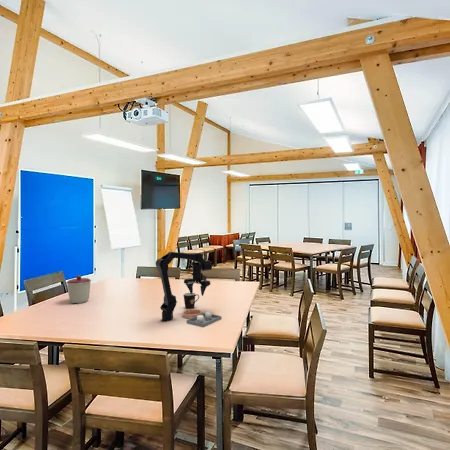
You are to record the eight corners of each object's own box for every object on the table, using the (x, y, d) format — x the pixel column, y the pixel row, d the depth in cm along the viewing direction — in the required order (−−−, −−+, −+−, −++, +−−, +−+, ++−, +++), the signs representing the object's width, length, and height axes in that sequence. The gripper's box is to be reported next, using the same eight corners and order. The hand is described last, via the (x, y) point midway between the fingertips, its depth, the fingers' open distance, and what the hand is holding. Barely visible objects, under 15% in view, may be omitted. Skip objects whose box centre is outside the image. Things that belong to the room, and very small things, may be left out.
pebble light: (200, 324, 193) (200, 317, 193) (195, 323, 196) (195, 316, 195) (204, 322, 196) (204, 315, 196) (199, 321, 199) (199, 314, 199)
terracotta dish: (193, 321, 202) (193, 316, 202) (178, 317, 209) (178, 313, 209) (205, 316, 212) (205, 311, 212) (191, 313, 219) (191, 308, 219)
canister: (66, 301, 258) (65, 274, 258) (90, 298, 267) (90, 272, 266) (67, 306, 242) (66, 278, 242) (92, 303, 250) (92, 276, 250)
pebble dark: (209, 320, 200) (208, 313, 200) (204, 319, 202) (203, 312, 202) (212, 318, 203) (212, 312, 203) (207, 317, 205) (207, 311, 205)
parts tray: (203, 328, 188) (203, 324, 188) (186, 324, 196) (186, 320, 196) (221, 320, 203) (221, 316, 203) (205, 316, 210) (205, 312, 210)
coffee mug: (184, 310, 226) (183, 295, 226) (183, 306, 235) (183, 293, 235) (200, 308, 229) (200, 294, 228) (199, 305, 237) (198, 292, 237)
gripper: (215, 271, 217) (215, 294, 218) (193, 268, 228) (193, 291, 228) (205, 273, 208) (205, 297, 208) (183, 271, 218) (183, 294, 219)
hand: (197, 294), depth 216 cm, fingers open, 9 cm apart
